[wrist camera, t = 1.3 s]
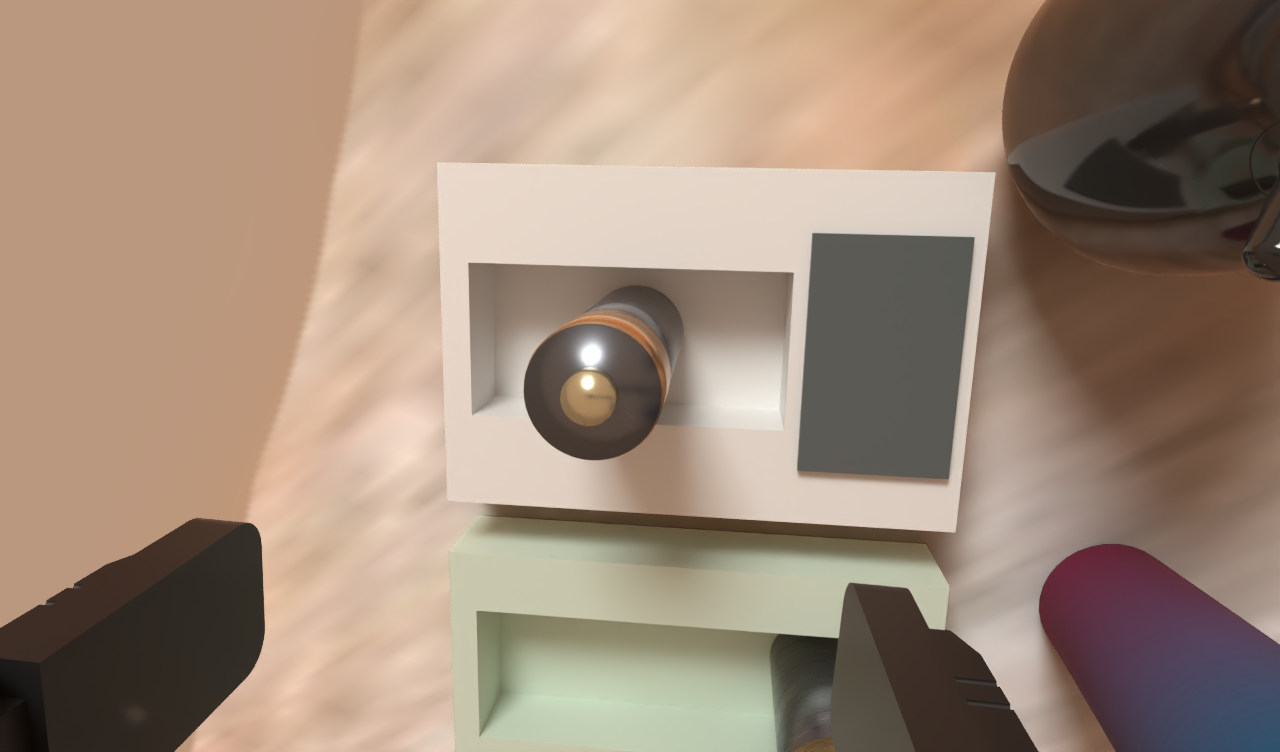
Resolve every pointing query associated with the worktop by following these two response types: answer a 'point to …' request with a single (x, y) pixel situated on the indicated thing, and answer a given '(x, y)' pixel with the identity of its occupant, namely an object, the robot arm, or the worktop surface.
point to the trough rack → (645, 630)
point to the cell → (605, 374)
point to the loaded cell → (803, 692)
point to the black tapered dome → (1152, 132)
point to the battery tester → (724, 335)
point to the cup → (1161, 656)
